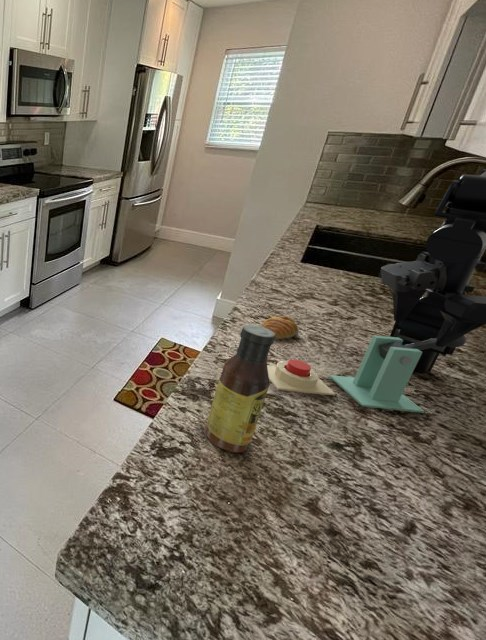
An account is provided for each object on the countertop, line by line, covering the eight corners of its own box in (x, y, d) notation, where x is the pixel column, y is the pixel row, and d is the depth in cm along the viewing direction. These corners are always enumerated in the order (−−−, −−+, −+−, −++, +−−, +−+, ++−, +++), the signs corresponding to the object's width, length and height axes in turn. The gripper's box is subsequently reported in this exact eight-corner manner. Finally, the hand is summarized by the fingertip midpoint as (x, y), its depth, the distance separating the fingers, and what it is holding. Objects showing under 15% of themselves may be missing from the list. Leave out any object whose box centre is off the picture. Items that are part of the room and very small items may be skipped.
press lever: (455, 339, 73) (454, 325, 72) (471, 348, 71) (471, 333, 70) (378, 356, 76) (376, 342, 75) (391, 365, 73) (390, 351, 73)
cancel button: (301, 367, 81) (303, 360, 81) (312, 378, 78) (315, 370, 77) (281, 365, 82) (284, 358, 81) (292, 376, 78) (295, 368, 78)
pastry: (285, 346, 94) (290, 331, 93) (252, 334, 99) (256, 320, 98) (298, 334, 100) (303, 320, 98) (266, 323, 104) (270, 310, 103)
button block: (307, 373, 84) (312, 361, 83) (333, 399, 77) (339, 385, 76) (255, 368, 85) (259, 356, 84) (276, 393, 78) (281, 380, 77)
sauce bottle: (247, 461, 62) (287, 348, 55) (202, 444, 65) (234, 334, 58) (248, 435, 67) (284, 328, 60) (205, 420, 70) (235, 316, 63)
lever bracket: (382, 385, 81) (406, 333, 77) (422, 416, 73) (451, 360, 69) (327, 379, 82) (348, 328, 78) (360, 410, 74) (386, 354, 70)
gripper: (363, 233, 79) (335, 306, 84) (450, 267, 61) (408, 356, 67) (429, 237, 77) (396, 311, 83) (538, 273, 60) (487, 364, 65)
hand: (417, 333), depth 74 cm, fingers open, 9 cm apart
